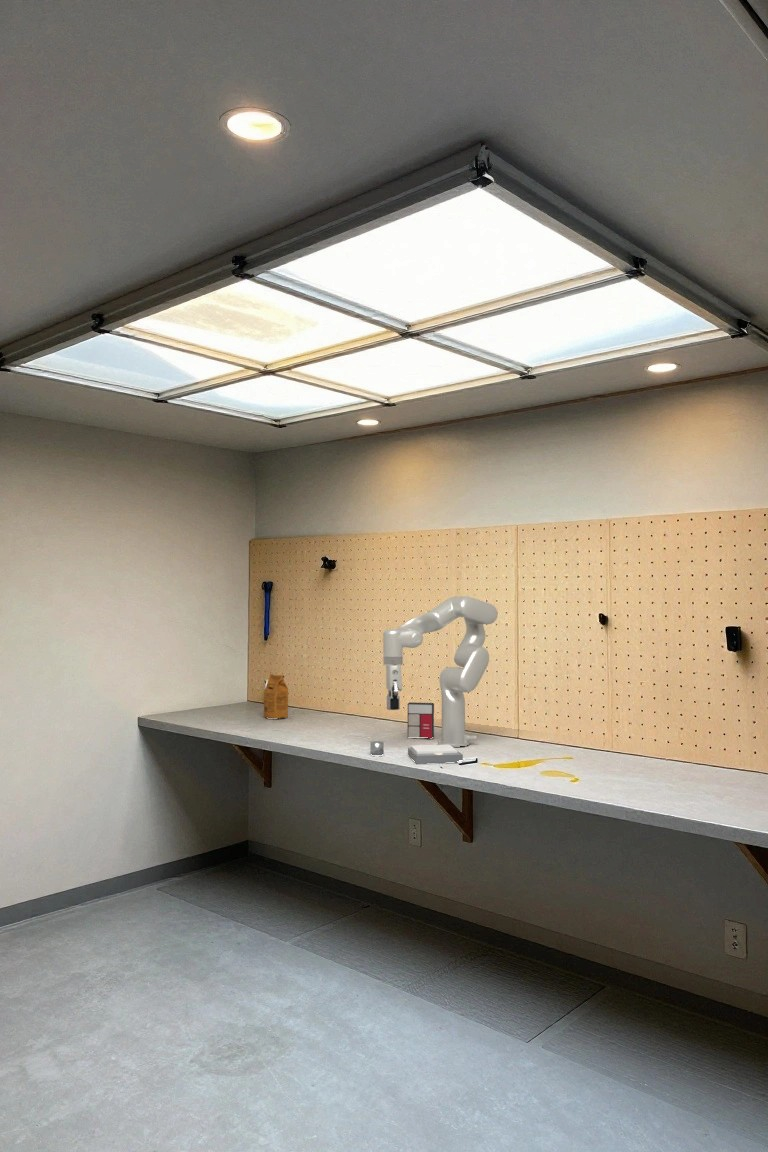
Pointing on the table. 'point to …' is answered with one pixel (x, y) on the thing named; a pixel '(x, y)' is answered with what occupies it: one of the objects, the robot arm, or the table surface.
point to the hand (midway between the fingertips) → (393, 707)
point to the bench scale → (434, 754)
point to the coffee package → (276, 697)
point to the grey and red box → (420, 719)
